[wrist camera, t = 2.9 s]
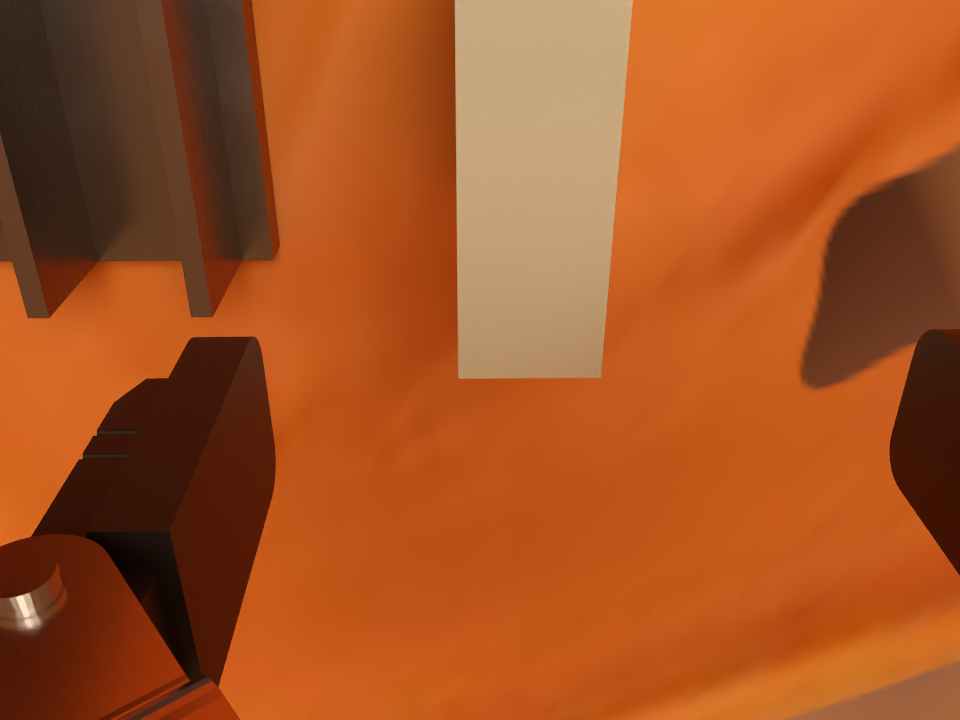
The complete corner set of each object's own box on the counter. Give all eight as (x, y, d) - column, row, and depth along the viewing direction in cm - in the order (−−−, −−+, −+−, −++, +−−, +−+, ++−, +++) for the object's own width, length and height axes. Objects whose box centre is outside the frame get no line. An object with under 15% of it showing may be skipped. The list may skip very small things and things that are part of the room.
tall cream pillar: (456, -88, 25) (454, -37, 15) (562, -87, 25) (635, -36, 15) (458, 187, 29) (458, 378, 19) (550, 186, 29) (600, 377, 19)
